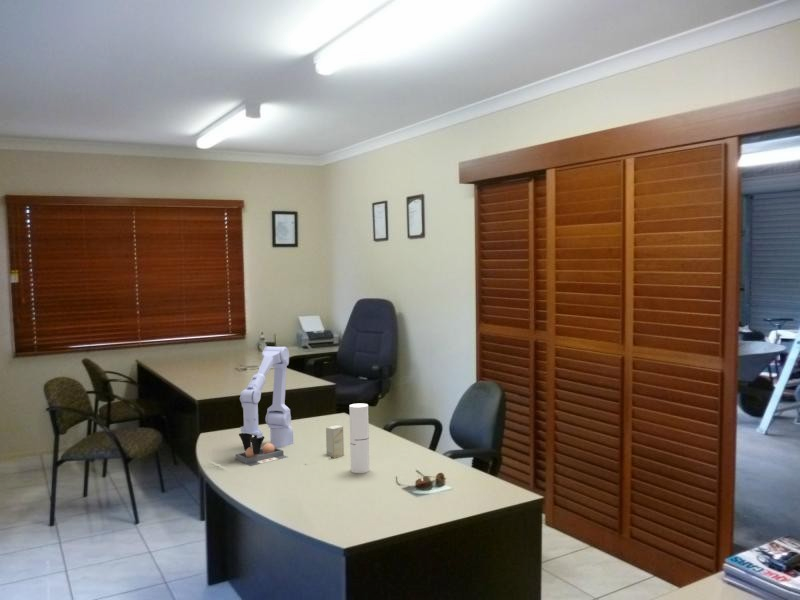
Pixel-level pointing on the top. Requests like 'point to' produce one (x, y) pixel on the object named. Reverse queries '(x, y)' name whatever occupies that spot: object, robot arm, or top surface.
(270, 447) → the resting terracotta ball
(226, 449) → the top surface
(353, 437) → the cylindrical container
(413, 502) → the top surface
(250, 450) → the terracotta ball
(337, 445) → the skincare box
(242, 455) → the grey rimmed tray
